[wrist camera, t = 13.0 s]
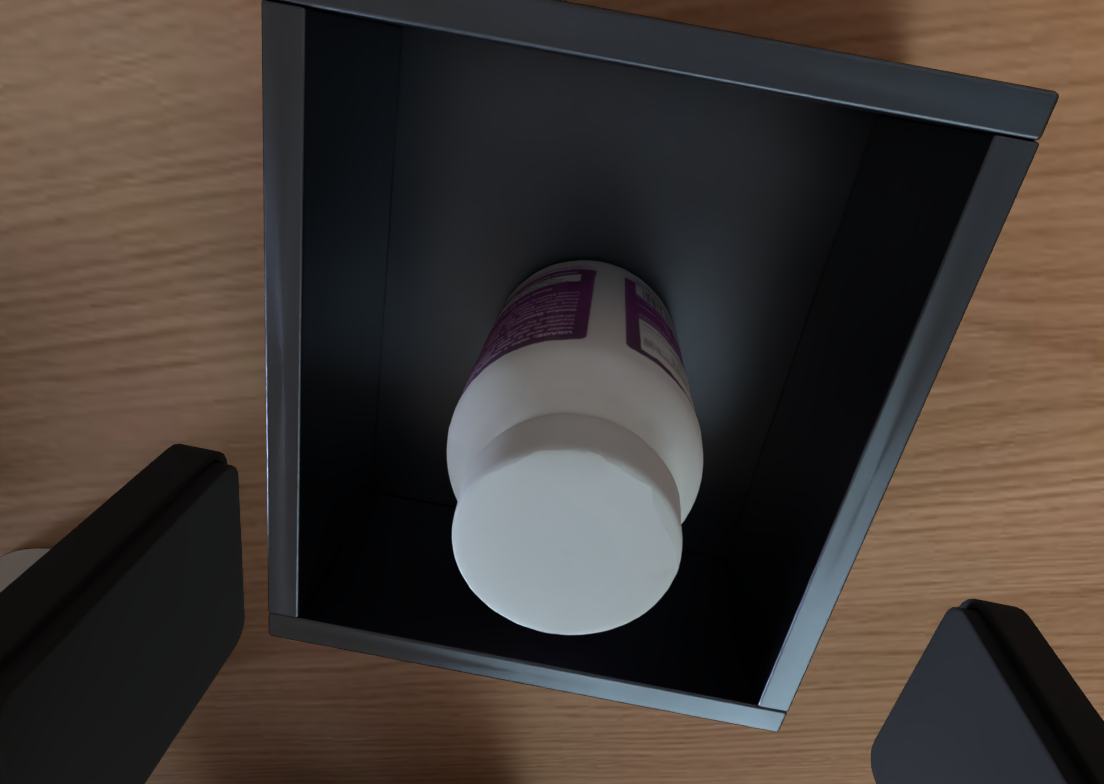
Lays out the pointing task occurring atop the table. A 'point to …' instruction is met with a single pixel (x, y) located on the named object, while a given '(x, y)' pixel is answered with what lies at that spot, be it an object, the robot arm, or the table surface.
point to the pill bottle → (575, 453)
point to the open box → (645, 251)
